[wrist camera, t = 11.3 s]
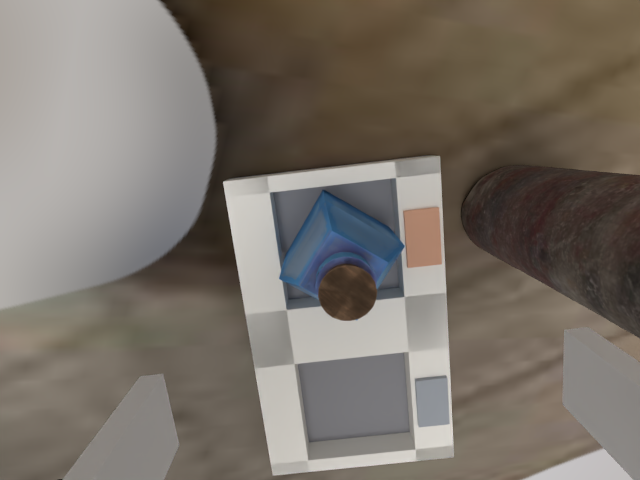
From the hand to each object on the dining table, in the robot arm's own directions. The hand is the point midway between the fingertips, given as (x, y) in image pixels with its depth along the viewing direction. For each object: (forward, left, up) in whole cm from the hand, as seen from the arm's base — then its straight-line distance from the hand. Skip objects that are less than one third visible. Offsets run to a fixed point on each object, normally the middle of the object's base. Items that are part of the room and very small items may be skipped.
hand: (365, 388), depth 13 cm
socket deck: (0, -7, -21) cm, 22 cm away
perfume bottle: (0, 0, -21) cm, 21 cm away
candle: (+14, +1, -22) cm, 26 cm away
